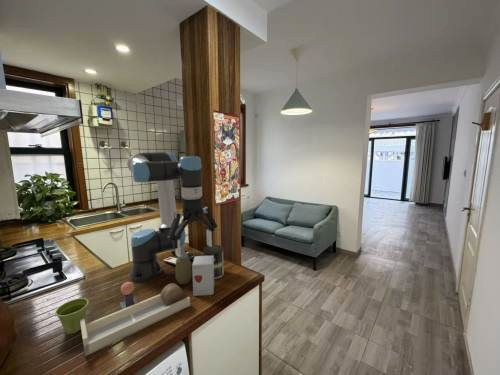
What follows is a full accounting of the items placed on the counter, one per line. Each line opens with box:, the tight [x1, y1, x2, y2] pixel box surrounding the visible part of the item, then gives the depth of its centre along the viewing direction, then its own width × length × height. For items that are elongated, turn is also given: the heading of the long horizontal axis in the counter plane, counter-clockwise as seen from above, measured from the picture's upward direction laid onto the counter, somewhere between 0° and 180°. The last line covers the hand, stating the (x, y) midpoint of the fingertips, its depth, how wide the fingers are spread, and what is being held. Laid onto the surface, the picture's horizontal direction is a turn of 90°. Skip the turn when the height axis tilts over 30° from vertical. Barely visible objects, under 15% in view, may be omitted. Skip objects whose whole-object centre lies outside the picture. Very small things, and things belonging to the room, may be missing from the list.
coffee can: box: [202, 244, 225, 280], centre depth 116 cm, size 10×10×14 cm
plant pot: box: [54, 297, 90, 335], centre depth 81 cm, size 9×9×9 cm
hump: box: [160, 283, 186, 306], centre depth 93 cm, size 6×8×8 cm
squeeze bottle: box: [174, 246, 193, 285], centre depth 109 cm, size 8×8×18 cm
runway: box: [80, 293, 191, 357], centre depth 85 cm, size 11×36×6 cm, turn 131°
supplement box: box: [191, 255, 215, 297], centre depth 103 cm, size 9×9×15 cm
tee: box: [119, 292, 139, 310], centre depth 93 cm, size 6×6×5 cm
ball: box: [120, 281, 135, 295], centre depth 93 cm, size 5×5×5 cm
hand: (194, 250), depth 87 cm, fingers open, 13 cm apart
